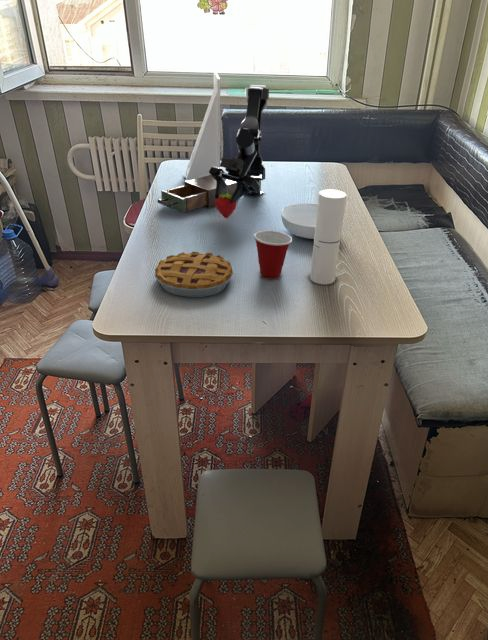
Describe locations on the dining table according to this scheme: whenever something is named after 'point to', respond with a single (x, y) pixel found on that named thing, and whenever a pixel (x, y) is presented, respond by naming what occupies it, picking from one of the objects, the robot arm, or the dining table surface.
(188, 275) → the pie
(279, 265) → the plastic cup
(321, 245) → the cylindrical container
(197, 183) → the cabinet
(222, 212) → the strawberry
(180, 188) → the drawer
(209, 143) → the white bracket plate
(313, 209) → the serving bowl
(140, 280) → the dining table surface
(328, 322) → the dining table surface
